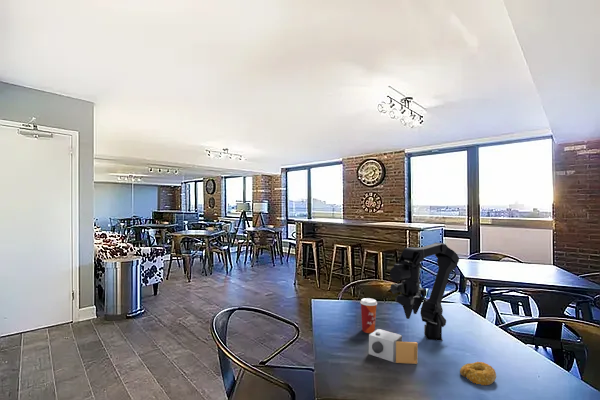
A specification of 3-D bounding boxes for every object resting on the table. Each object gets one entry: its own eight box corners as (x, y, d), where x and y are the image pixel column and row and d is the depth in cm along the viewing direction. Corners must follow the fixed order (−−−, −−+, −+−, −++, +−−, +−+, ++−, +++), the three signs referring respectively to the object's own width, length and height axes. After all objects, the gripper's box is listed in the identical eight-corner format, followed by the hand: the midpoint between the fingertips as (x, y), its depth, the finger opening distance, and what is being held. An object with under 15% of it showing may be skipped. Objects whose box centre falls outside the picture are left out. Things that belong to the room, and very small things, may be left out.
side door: (416, 362, 124) (416, 341, 124) (417, 364, 123) (417, 343, 123) (393, 361, 124) (393, 340, 124) (394, 363, 123) (394, 342, 123)
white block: (378, 347, 137) (378, 327, 137) (401, 354, 130) (402, 334, 130) (367, 355, 129) (367, 334, 129) (391, 363, 123) (392, 341, 123)
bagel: (463, 367, 121) (464, 354, 121) (498, 378, 114) (499, 364, 114) (456, 379, 114) (456, 365, 113) (493, 391, 107) (493, 376, 107)
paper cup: (372, 335, 149) (372, 303, 149) (356, 331, 153) (357, 300, 153) (379, 330, 155) (380, 299, 155) (364, 326, 160) (365, 296, 160)
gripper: (402, 272, 151) (401, 306, 152) (383, 279, 137) (383, 317, 137) (427, 276, 144) (426, 312, 144) (410, 284, 130) (410, 324, 130)
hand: (411, 316), depth 139 cm, fingers open, 7 cm apart
